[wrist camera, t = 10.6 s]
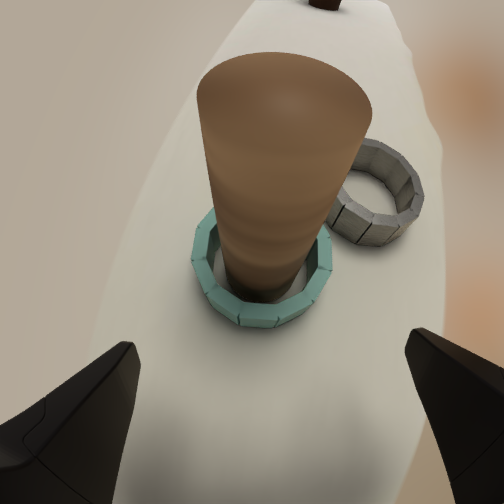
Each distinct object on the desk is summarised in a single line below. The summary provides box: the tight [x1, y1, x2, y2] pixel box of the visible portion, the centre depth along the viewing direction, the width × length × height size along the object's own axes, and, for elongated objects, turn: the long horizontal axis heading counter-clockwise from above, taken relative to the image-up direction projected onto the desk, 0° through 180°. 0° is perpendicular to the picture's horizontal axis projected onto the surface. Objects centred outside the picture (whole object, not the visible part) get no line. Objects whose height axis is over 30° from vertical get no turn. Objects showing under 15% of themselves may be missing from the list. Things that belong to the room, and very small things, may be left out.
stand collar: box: [325, 138, 424, 247], centre depth 19 cm, size 8×8×3 cm
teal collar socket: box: [191, 207, 332, 328], centre depth 17 cm, size 8×8×3 cm
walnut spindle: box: [197, 52, 372, 302], centre depth 12 cm, size 4×4×13 cm
